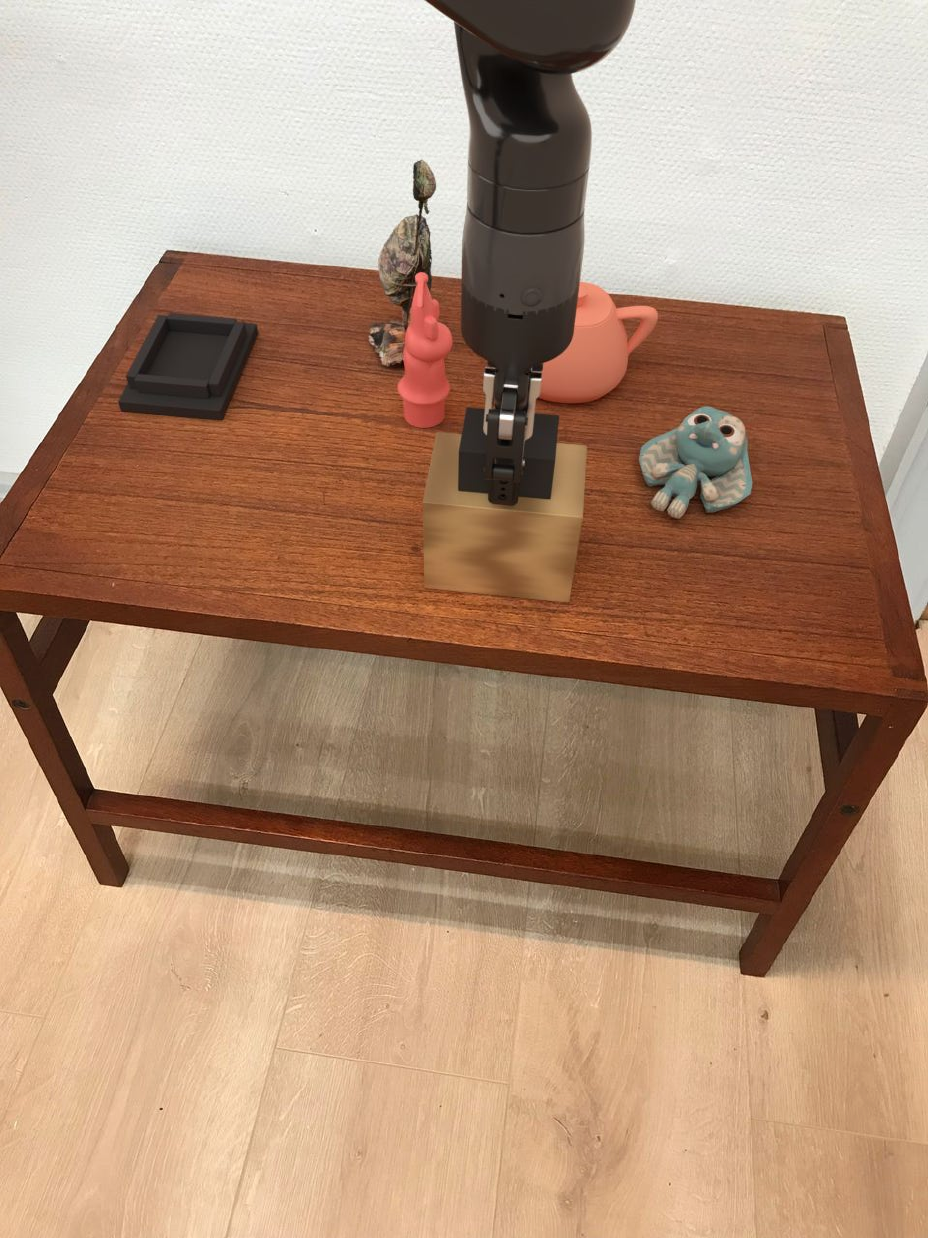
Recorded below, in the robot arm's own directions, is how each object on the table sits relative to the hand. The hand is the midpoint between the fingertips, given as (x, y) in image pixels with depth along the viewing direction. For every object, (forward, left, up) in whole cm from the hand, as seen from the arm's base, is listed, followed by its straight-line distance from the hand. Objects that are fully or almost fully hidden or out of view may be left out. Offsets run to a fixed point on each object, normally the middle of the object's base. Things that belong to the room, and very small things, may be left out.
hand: (507, 466), depth 74 cm
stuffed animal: (+16, -12, -11) cm, 23 cm away
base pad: (+10, +38, -11) cm, 41 cm away
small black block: (0, 0, -1) cm, 1 cm away
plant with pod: (+24, +21, -11) cm, 34 cm away
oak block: (0, 0, -11) cm, 11 cm away
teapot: (+26, +5, -11) cm, 29 cm away
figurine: (+14, +14, -11) cm, 23 cm away
